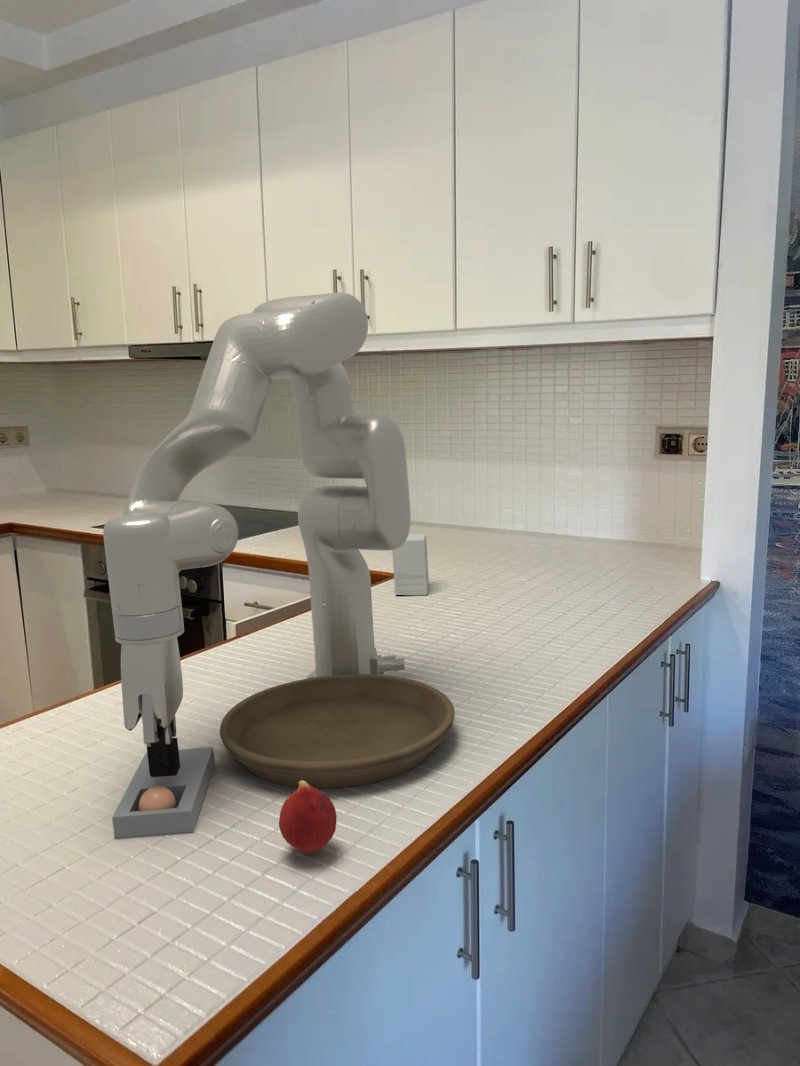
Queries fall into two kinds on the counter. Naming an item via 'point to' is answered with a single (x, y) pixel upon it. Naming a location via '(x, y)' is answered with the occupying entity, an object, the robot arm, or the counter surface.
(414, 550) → the supplement box
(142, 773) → the block
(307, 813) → the onion
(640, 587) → the counter surface
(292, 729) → the plant saucer
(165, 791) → the ball
